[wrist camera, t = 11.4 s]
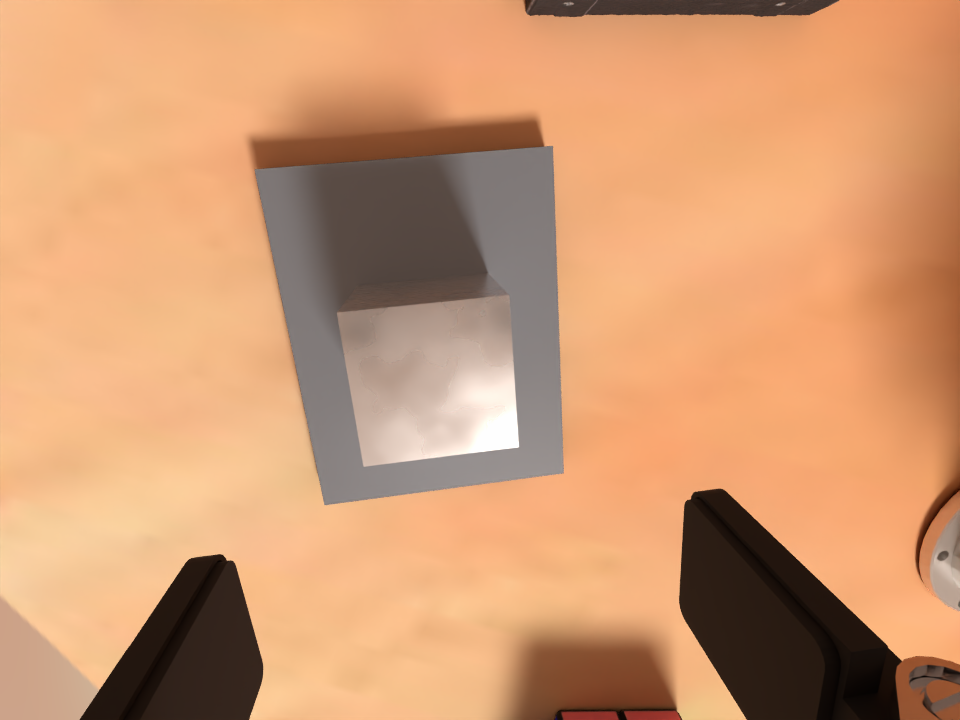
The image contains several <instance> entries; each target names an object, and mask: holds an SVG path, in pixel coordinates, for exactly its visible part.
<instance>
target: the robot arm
mask: <svg viewBox="0 0 960 720" xmlns="http://www.w3.org/2000/svg"><path fill="white" fill-rule="evenodd" d="M919 568H920V574H921V578H922V580H923V582H924V584H925V587H926V588H927V589H928V590H929V591H930V592H931V594H932V595H933V596H935V597H936V598H937V599H939V600H940V601H942V602H943V603H944V604H945V605H947V606H948V607H950V608H952V609H954V610H957V611H960V491H958V492H957V493H956V494H955V495H954V496H953V497H951V498H950V500H949V501H948V502H947V503H946V504H945V505H944V506H943V507H942V508H941V510H940V511H939V512H938V514H937V515H936V517H935V518H934V520H933V521H932V523H931V524H930V526H929V528H928V530H927V532H926V534H925V537H924V539H923V543H922V546H921V550H920V559H919ZM679 604H680V609H681V612H682V615H683V617H684V619H685V621H686V623H687V624H688V626H689V627H690V629H691V631H692V632H693V634H694V635H695V637H696V639H697V640H698V642H699V644H700V645H701V647H702V648H703V650H704V652H705V653H706V655H707V656H708V658H709V660H710V661H711V663H712V664H713V666H714V668H715V669H716V671H717V672H718V674H719V676H720V677H721V679H722V680H723V682H724V684H725V685H726V687H727V688H728V690H729V692H730V693H731V695H732V696H733V698H734V700H735V701H736V703H737V704H738V706H739V708H740V709H741V711H742V713H743V714H744V716H745V717H746V719H747V720H960V665H959V664H956V663H954V662H951V661H947V660H943V659H939V658H935V657H924V656H915V657H912V658H908V659H904V660H903V661H901V660H900V659H899V658H898V657H897V656H896V655H895V654H894V653H893V652H892V651H891V650H890V649H889V648H888V646H887V645H886V644H885V643H884V642H883V641H882V640H881V639H880V638H879V637H878V636H877V635H876V634H875V633H874V632H873V631H872V630H871V629H869V628H868V627H867V626H866V625H865V624H864V623H863V622H862V621H861V620H860V619H859V618H858V617H857V616H856V615H855V614H854V613H853V612H852V611H851V610H850V609H849V608H847V607H846V606H845V605H844V604H843V603H842V602H841V601H840V600H839V599H838V598H837V597H836V596H835V595H834V594H833V593H832V592H831V591H830V590H829V589H828V588H827V587H826V586H824V585H823V584H822V583H821V582H820V581H819V580H818V579H817V578H816V577H815V576H814V575H813V574H812V573H811V572H810V571H809V570H808V569H807V568H806V567H805V566H804V565H802V564H801V563H800V562H799V561H798V560H797V559H796V558H795V557H794V556H793V555H792V554H791V553H790V552H789V551H788V550H787V549H786V548H785V547H784V546H783V545H782V544H781V543H779V542H778V541H777V540H776V539H775V538H774V537H773V536H772V535H771V534H770V533H769V532H768V531H767V530H766V529H765V528H764V527H763V526H762V525H761V524H760V523H759V522H757V521H756V520H755V519H754V518H753V517H752V516H751V515H750V514H749V513H748V512H747V511H746V510H745V509H744V508H743V507H742V506H741V505H740V504H739V503H738V502H737V501H736V500H734V499H733V498H732V497H731V496H730V495H729V494H728V493H727V492H726V491H725V490H723V489H713V490H706V491H698V492H694V493H693V495H692V496H691V500H687V501H686V502H685V506H684V522H683V540H682V558H681V577H680V595H679ZM262 678H263V662H262V658H261V654H260V651H259V647H258V644H257V640H256V637H255V633H254V629H253V626H252V622H251V619H250V615H249V611H248V608H247V604H246V601H245V597H244V594H243V590H242V586H241V583H240V579H239V576H238V572H237V568H236V565H235V563H234V562H233V561H227V560H226V558H225V557H224V556H223V555H221V554H218V555H211V556H203V557H196V558H191V559H189V560H188V561H187V562H186V563H185V565H184V566H183V568H182V569H181V571H180V572H179V574H178V575H177V577H176V578H175V580H174V581H173V583H172V584H171V585H170V587H169V588H168V590H167V591H166V593H165V594H164V596H163V597H162V599H161V600H160V602H159V603H158V605H157V606H156V608H155V609H154V611H153V612H152V614H151V615H150V617H149V618H148V620H147V621H146V623H145V624H144V626H143V627H142V629H141V630H140V632H139V633H138V635H137V636H136V638H135V639H134V641H133V642H132V644H131V645H130V646H129V648H128V649H127V650H126V652H125V653H124V655H123V656H122V658H121V659H120V660H119V662H118V663H117V665H116V666H115V668H114V669H113V671H112V672H111V674H110V675H109V677H108V678H107V680H106V681H105V683H104V684H103V686H102V687H101V689H100V690H99V692H98V693H97V695H96V696H95V698H94V699H93V701H92V702H91V704H90V705H89V707H88V708H87V710H86V711H85V712H84V714H83V716H82V717H81V718H80V720H249V718H250V715H251V712H252V709H253V706H254V703H255V700H256V698H257V695H258V692H259V689H260V686H261V682H262Z"/></svg>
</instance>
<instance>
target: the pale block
mask: <svg viewBox="0 0 960 720" xmlns="http://www.w3.org/2000/svg"><path fill="white" fill-rule="evenodd" d="M337 317H338V323H339V329H340V334H341V340H342V346H343V352H344V357H345V363H346V369H347V375H348V380H349V386H350V392H351V397H352V403H353V409H354V415H355V420H356V426H357V432H358V438H359V443H360V449H361V455H362V461H363V466H364V467H366V466H374V465H381V464H389V463H397V462H405V461H413V460H421V459H429V458H436V457H444V456H452V455H460V454H468V453H476V452H484V451H492V450H499V449H507V448H515V447H519V442H518V426H517V410H516V394H515V378H514V362H513V346H512V331H511V315H510V299H509V294H508V293H507V292H506V291H505V290H504V289H503V288H502V287H501V286H500V285H499V284H498V283H497V282H496V281H495V280H494V279H493V277H492V276H491V275H490V274H489V273H480V274H470V275H460V276H450V277H439V278H429V279H419V280H409V281H398V282H388V283H378V284H368V285H358V286H357V287H356V288H355V290H354V291H353V292H352V294H351V295H350V296H349V297H348V299H347V300H346V301H345V303H344V304H343V305H342V306H341V308H340V309H339V310H338V312H337Z"/></svg>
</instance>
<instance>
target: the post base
mask: <svg viewBox="0 0 960 720" xmlns="http://www.w3.org/2000/svg"><path fill="white" fill-rule="evenodd" d="M255 174H256V179H257V184H258V188H259V193H260V198H261V203H262V208H263V212H264V217H265V222H266V227H267V232H268V236H269V241H270V246H271V251H272V255H273V260H274V265H275V270H276V275H277V279H278V284H279V289H280V294H281V299H282V303H283V308H284V313H285V318H286V323H287V327H288V332H289V337H290V342H291V346H292V351H293V356H294V361H295V366H296V370H297V375H298V380H299V385H300V390H301V394H302V399H303V404H304V409H305V414H306V418H307V423H308V428H309V433H310V437H311V442H312V447H313V452H314V457H315V461H316V466H317V471H318V476H319V481H320V485H321V490H322V495H323V500H324V505H329V504H337V503H344V502H352V501H359V500H367V499H374V498H382V497H389V496H397V495H404V494H412V493H419V492H427V491H434V490H442V489H449V488H457V487H464V486H472V485H479V484H487V483H494V482H502V481H509V480H517V479H524V478H532V477H539V476H547V475H554V474H561V473H564V465H563V436H562V406H561V376H560V346H559V316H558V286H557V256H556V226H555V196H554V167H553V146H546V147H534V148H521V149H508V150H495V151H483V152H470V153H457V154H444V155H432V156H419V157H406V158H394V159H381V160H368V161H355V162H343V163H330V164H317V165H304V166H292V167H279V168H266V169H255ZM480 273H489V274H490V275H491V276H492V277H493V279H494V280H495V281H496V282H497V283H498V284H499V285H500V286H501V287H502V288H503V289H504V290H505V291H506V292H507V293H508V294H509V299H510V315H511V331H512V346H513V362H514V378H515V394H516V410H517V426H518V442H519V447H515V448H507V449H499V450H492V451H484V452H476V453H468V454H460V455H452V456H444V457H436V458H429V459H421V460H413V461H405V462H397V463H389V464H381V465H374V466H366V467H364V466H363V461H362V455H361V449H360V443H359V438H358V432H357V426H356V420H355V415H354V409H353V403H352V397H351V392H350V386H349V380H348V375H347V369H346V363H345V357H344V352H343V346H342V340H341V334H340V329H339V323H338V317H337V312H338V310H339V309H340V308H341V306H342V305H343V304H344V303H345V301H346V300H347V299H348V297H349V296H350V295H351V294H352V292H353V291H354V290H355V288H356V287H357V286H358V285H368V284H378V283H388V282H398V281H409V280H419V279H429V278H439V277H450V276H460V275H470V274H480Z"/></svg>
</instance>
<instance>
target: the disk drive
mask: <svg viewBox="0 0 960 720" xmlns="http://www.w3.org/2000/svg"><path fill="white" fill-rule="evenodd" d="M838 1H839V0H526V13H527V14H528V15H530V16H532V15H554V16H559V17H561V16H569V17H577V16H583V15H610V14H613V15H636V14H638V15H660V14H662V15H670V14H671V15H675V14H679V15H693V14H700V15H709V14H711V15H713V14H714V15H715V14H719V15H726V14H727V15H741V14H743V15H754V16H760V17H763V16H777V15H810V14H813V13H815V12H817V11H819V10H821V9H823V8H825V7H828V6H830V5H832V4H834V3H836V2H838Z"/></svg>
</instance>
